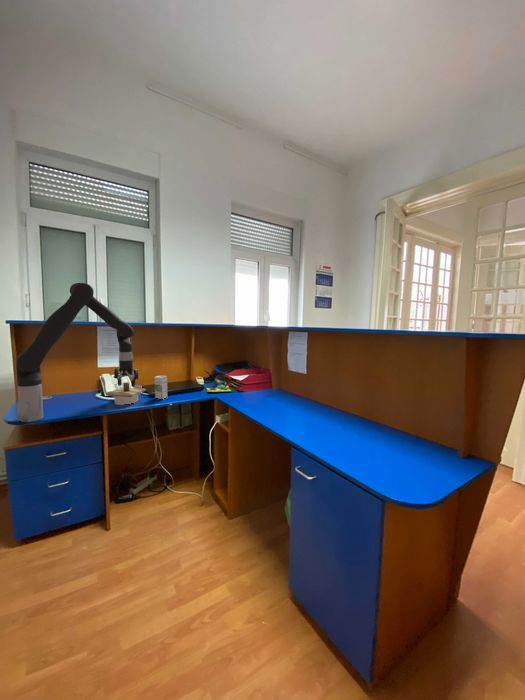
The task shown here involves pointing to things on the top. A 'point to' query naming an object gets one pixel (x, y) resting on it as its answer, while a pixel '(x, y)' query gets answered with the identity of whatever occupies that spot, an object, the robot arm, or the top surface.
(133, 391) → the oak lid
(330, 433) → the top surface
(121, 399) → the cream bowl
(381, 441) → the top surface
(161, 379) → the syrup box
